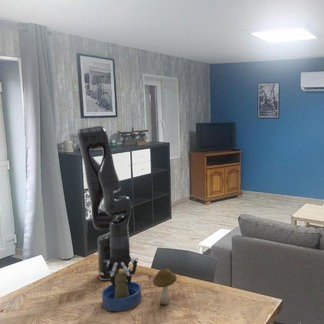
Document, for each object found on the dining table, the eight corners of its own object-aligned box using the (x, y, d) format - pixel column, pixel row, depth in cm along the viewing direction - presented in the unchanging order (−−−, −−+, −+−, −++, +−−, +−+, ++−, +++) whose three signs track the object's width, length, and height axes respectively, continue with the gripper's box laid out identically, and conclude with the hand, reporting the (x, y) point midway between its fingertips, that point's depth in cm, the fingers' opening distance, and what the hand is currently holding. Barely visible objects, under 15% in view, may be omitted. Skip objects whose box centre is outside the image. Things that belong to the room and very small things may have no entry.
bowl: (108, 294, 148) (108, 282, 148) (144, 292, 150) (143, 280, 150) (97, 313, 134) (97, 300, 133) (137, 311, 135) (137, 298, 135)
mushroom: (180, 297, 146) (180, 264, 145) (170, 311, 135) (169, 276, 133) (160, 295, 148) (160, 262, 146) (149, 309, 137) (148, 274, 135)
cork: (124, 302, 138) (123, 277, 137) (111, 301, 139) (110, 275, 138) (132, 295, 144) (131, 270, 143) (119, 293, 145) (118, 269, 144)
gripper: (139, 240, 143) (140, 278, 145) (104, 242, 142) (106, 280, 144) (135, 247, 136) (137, 287, 138) (98, 248, 134) (100, 289, 136)
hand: (121, 283), depth 141 cm, fingers closed on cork, 5 cm apart
